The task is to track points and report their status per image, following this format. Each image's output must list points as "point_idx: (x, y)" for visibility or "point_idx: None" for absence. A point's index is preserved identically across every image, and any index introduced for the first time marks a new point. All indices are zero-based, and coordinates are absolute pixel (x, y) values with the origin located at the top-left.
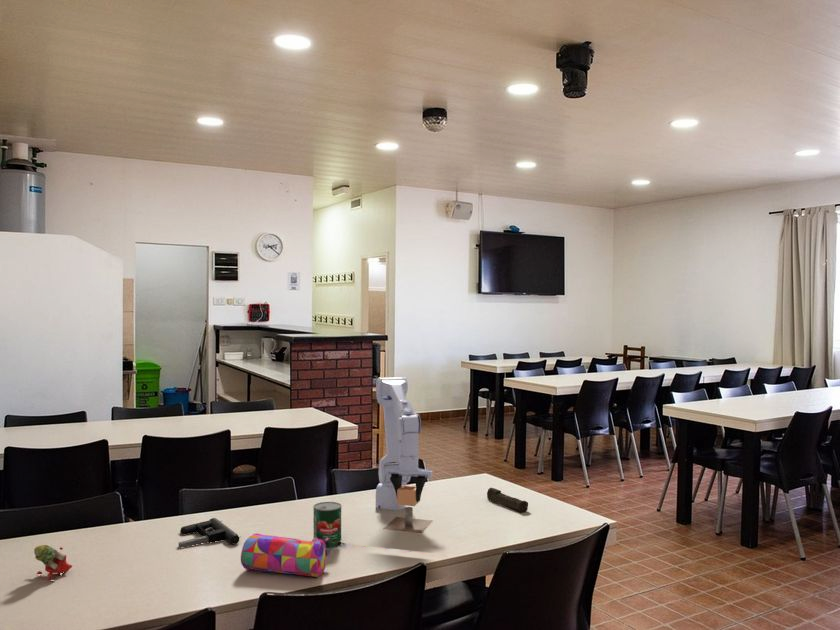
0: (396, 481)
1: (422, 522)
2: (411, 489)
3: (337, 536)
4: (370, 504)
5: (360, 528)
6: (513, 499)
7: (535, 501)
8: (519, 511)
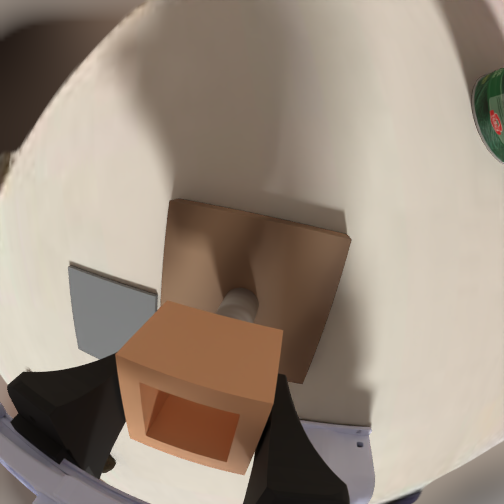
0: (275, 471)
1: None
2: (184, 433)
3: (494, 78)
4: None
5: (432, 292)
6: None
7: None
8: None
